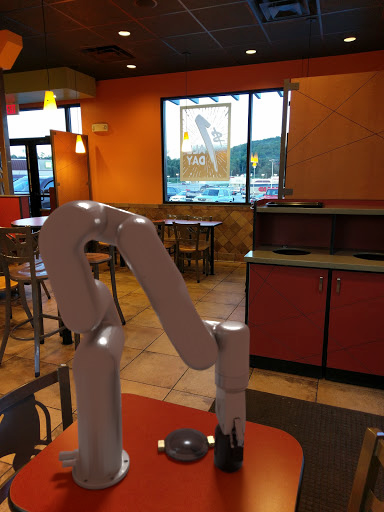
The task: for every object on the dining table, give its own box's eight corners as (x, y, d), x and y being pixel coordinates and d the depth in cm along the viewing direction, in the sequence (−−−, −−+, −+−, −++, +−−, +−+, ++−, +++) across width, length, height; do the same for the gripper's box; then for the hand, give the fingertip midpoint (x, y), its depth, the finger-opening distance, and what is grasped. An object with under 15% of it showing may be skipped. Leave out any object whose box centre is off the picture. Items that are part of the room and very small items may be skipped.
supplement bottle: (242, 476, 80) (244, 427, 78) (211, 471, 81) (212, 423, 79) (244, 455, 86) (245, 409, 84) (215, 450, 88) (216, 405, 86)
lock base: (159, 464, 83) (159, 459, 83) (157, 433, 94) (157, 429, 93) (218, 459, 85) (218, 454, 85) (209, 429, 96) (209, 425, 95)
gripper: (207, 360, 88) (207, 424, 91) (223, 399, 71) (222, 476, 74) (237, 358, 89) (236, 421, 92) (260, 396, 72) (258, 472, 75)
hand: (230, 446), depth 83 cm, fingers open, 9 cm apart
